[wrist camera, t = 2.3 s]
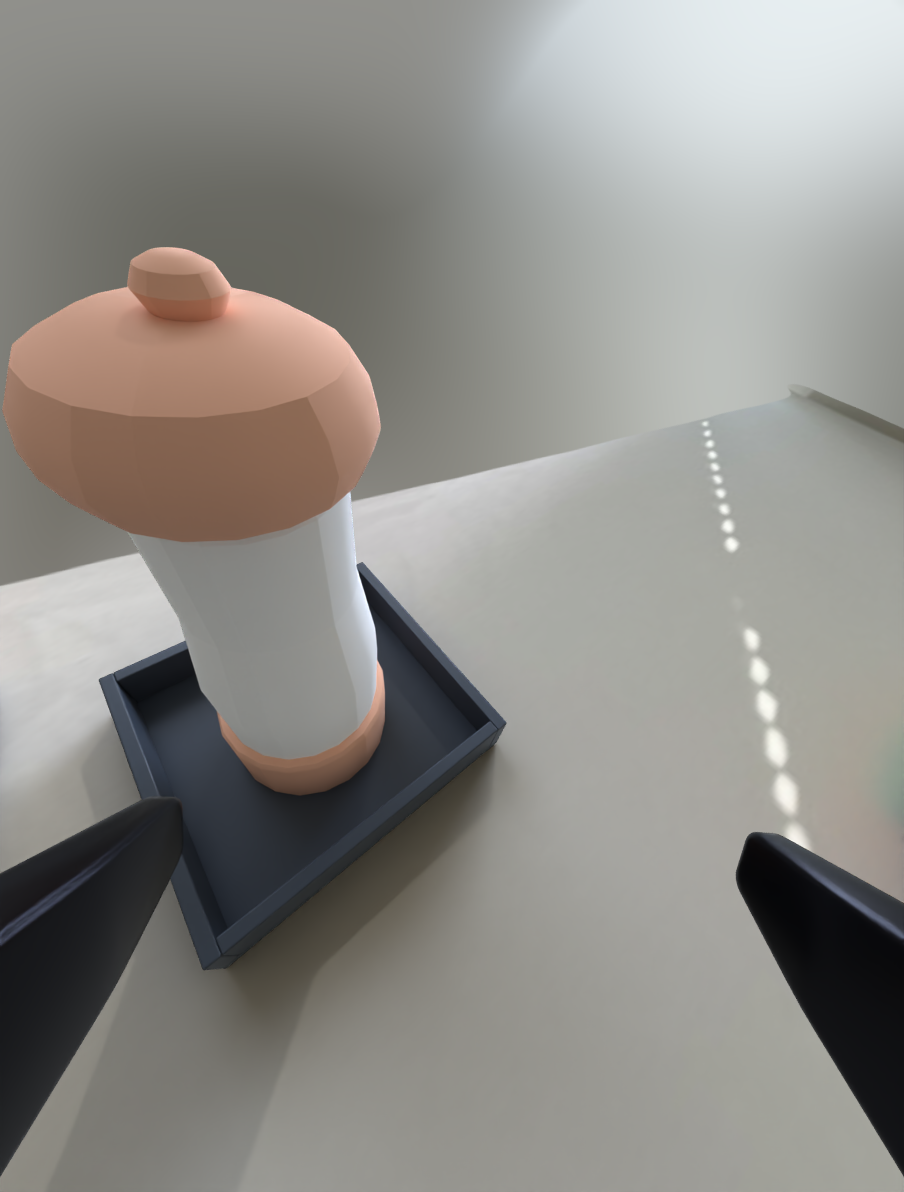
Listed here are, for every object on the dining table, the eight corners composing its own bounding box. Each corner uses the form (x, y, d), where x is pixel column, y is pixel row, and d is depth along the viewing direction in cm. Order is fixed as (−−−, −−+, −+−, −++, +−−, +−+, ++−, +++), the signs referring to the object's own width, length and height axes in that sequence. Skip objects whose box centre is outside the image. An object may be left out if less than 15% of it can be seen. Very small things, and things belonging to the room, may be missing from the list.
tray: (225, 969, 16) (202, 971, 14) (123, 703, 21) (97, 678, 19) (496, 742, 22) (507, 722, 21) (364, 588, 28) (362, 561, 26)
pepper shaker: (234, 678, 23) (-34, 190, 8) (367, 647, 25) (344, 223, 10) (241, 819, 18) (-289, 329, 4) (401, 767, 21) (439, 335, 6)
